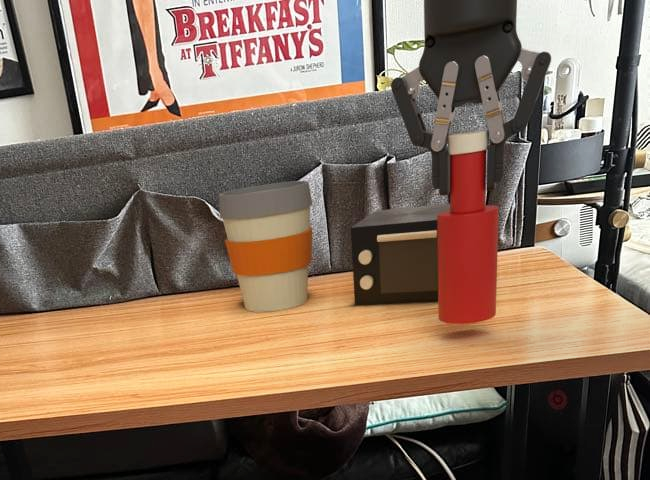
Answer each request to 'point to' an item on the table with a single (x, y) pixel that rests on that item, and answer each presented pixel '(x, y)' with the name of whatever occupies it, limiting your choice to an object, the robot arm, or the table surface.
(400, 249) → the toaster oven
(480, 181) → the ketchup bottle
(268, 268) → the reusable coffee cup
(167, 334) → the table surface
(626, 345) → the table surface
